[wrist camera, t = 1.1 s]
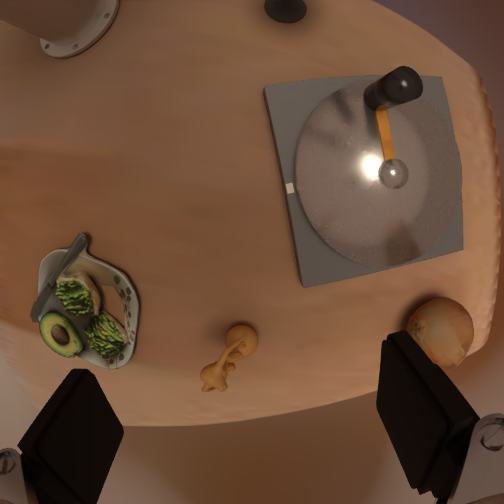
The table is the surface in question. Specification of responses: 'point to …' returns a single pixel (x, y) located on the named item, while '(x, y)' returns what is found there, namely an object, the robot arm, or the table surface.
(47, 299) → the avocado toast plate
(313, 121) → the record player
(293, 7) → the sundae
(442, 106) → the instrument base
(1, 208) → the table surface
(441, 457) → the robot arm
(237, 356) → the figurine
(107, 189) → the table surface
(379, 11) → the table surface
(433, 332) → the onion
